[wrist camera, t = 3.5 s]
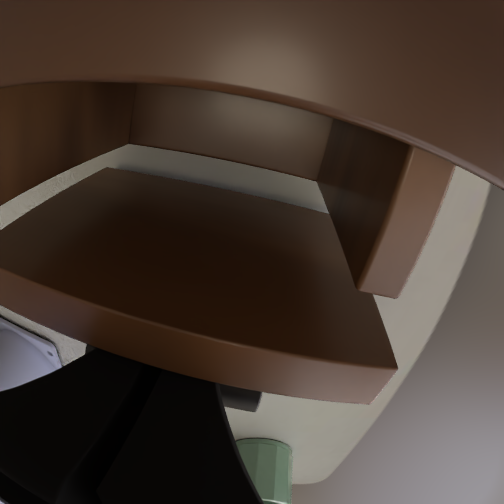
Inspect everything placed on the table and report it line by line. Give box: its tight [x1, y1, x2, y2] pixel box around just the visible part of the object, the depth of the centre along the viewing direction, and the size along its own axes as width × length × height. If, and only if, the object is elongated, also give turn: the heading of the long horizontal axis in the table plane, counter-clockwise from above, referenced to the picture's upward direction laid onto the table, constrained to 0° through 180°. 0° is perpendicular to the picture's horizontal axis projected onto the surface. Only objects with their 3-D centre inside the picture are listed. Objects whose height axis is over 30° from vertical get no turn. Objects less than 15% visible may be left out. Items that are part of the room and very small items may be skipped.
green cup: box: [236, 438, 293, 504], centre depth 20 cm, size 5×5×6 cm
